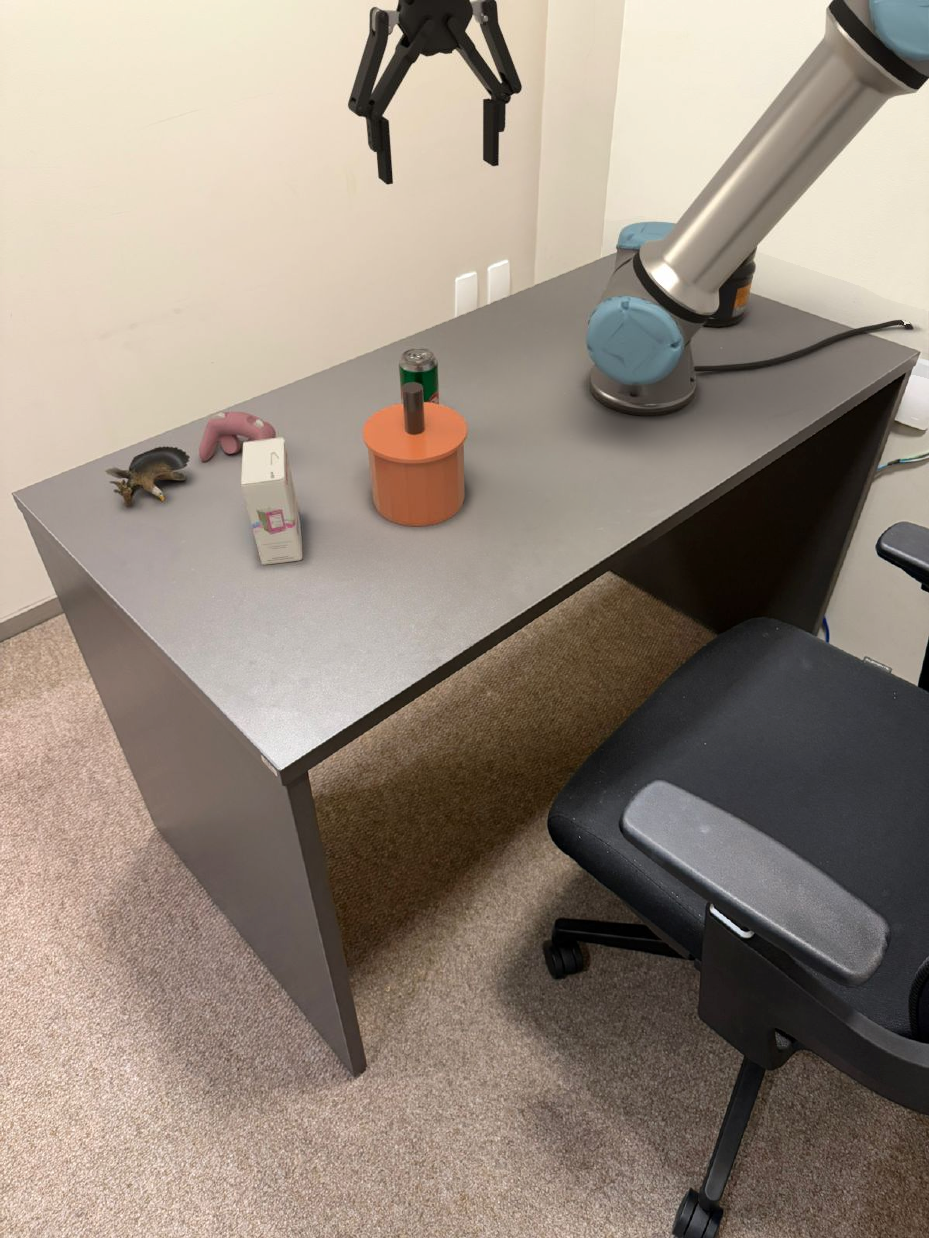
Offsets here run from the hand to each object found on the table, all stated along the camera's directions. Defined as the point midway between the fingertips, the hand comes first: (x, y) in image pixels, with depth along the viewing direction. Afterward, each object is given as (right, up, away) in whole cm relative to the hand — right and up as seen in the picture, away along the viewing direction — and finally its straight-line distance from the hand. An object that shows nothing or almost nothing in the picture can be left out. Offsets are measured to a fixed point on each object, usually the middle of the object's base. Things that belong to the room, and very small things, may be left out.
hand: (439, 172), depth 102 cm
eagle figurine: (-37, -37, +9) cm, 53 cm away
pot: (-3, -38, +7) cm, 38 cm away
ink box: (-19, -44, +2) cm, 48 cm away
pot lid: (-3, -31, 0) cm, 31 cm away
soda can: (-3, -28, +17) cm, 33 cm away
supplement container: (+44, -2, +42) cm, 61 cm away
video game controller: (-27, -31, +14) cm, 44 cm away
